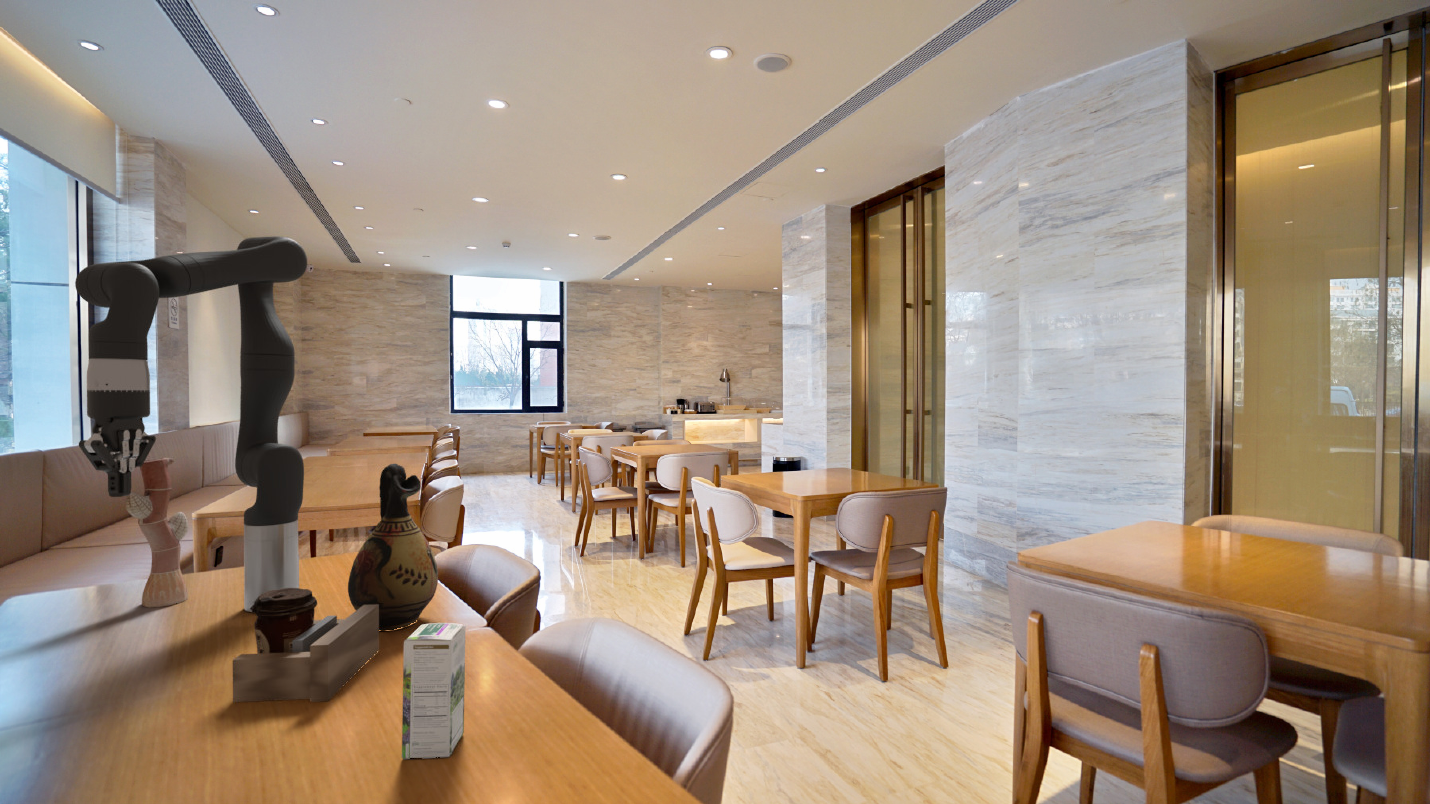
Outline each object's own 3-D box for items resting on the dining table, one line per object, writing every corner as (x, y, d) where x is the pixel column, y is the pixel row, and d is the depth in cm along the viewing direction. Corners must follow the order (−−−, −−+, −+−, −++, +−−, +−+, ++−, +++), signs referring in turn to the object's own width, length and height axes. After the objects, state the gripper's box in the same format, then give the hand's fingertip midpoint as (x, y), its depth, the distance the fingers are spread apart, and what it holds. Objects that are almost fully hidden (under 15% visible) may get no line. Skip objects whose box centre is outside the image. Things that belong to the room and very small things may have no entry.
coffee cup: (246, 694, 96) (245, 604, 95) (254, 672, 103) (253, 589, 103) (316, 681, 100) (315, 596, 100) (319, 662, 107) (318, 582, 107)
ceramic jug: (452, 622, 126) (452, 465, 125) (366, 644, 115) (365, 472, 114) (415, 602, 138) (414, 459, 137) (333, 621, 126) (332, 464, 126)
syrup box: (418, 735, 84) (418, 622, 84) (466, 734, 85) (466, 621, 85) (401, 760, 79) (400, 639, 78) (452, 758, 79) (452, 638, 79)
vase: (185, 593, 143) (184, 455, 142) (196, 600, 138) (195, 457, 138) (121, 606, 134) (119, 459, 134) (130, 613, 130) (128, 461, 130)
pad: (292, 688, 96) (292, 640, 96) (327, 658, 107) (327, 615, 107) (302, 687, 97) (302, 640, 97) (336, 658, 107) (336, 615, 107)
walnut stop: (228, 705, 92) (228, 648, 92) (296, 654, 110) (295, 606, 110) (328, 701, 94) (327, 644, 93) (378, 651, 111) (378, 604, 111)
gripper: (111, 388, 100) (112, 502, 100) (173, 388, 113) (174, 489, 113) (56, 387, 99) (57, 503, 99) (125, 388, 112) (126, 490, 112)
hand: (120, 495), depth 106 cm, fingers closed
